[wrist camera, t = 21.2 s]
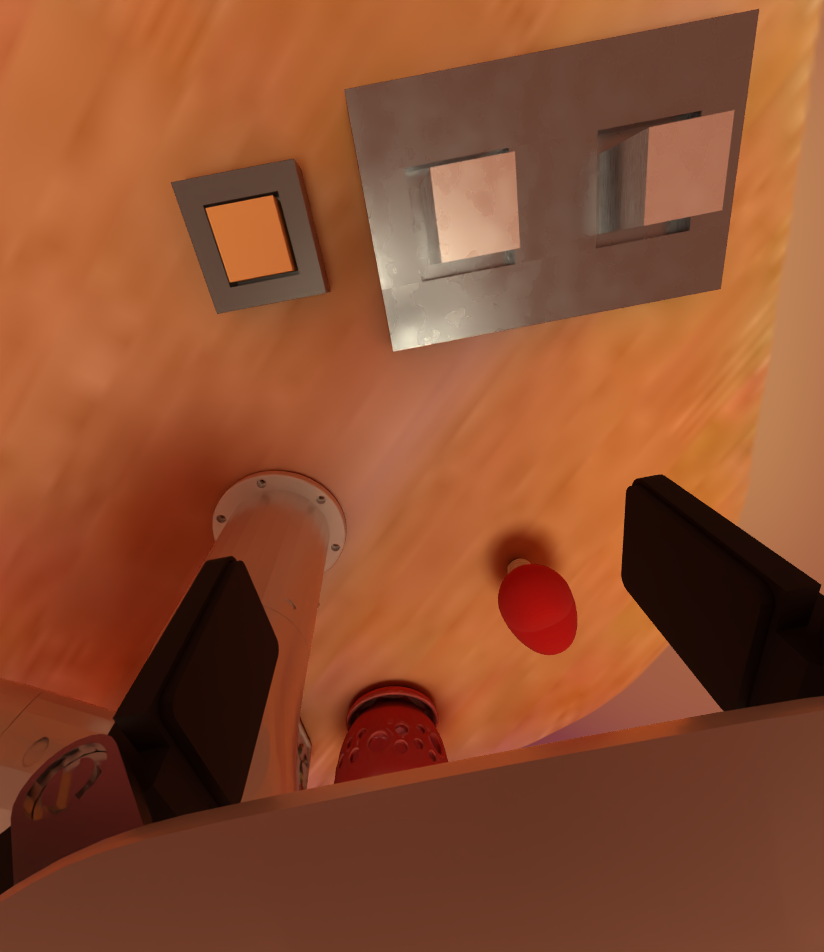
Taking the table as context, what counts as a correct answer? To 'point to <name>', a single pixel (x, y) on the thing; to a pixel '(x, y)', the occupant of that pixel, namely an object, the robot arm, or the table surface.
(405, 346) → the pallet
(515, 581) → the light bulb
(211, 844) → the robot arm
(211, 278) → the button housing
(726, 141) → the block
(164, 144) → the table surface
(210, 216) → the button
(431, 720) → the plant pot
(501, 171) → the seated billet
